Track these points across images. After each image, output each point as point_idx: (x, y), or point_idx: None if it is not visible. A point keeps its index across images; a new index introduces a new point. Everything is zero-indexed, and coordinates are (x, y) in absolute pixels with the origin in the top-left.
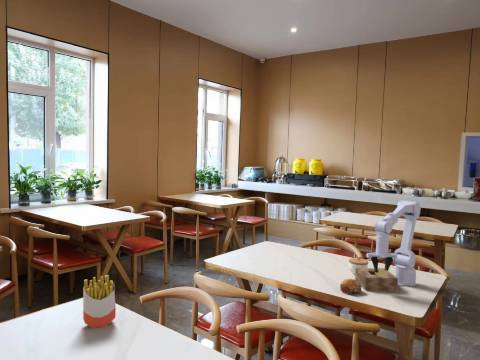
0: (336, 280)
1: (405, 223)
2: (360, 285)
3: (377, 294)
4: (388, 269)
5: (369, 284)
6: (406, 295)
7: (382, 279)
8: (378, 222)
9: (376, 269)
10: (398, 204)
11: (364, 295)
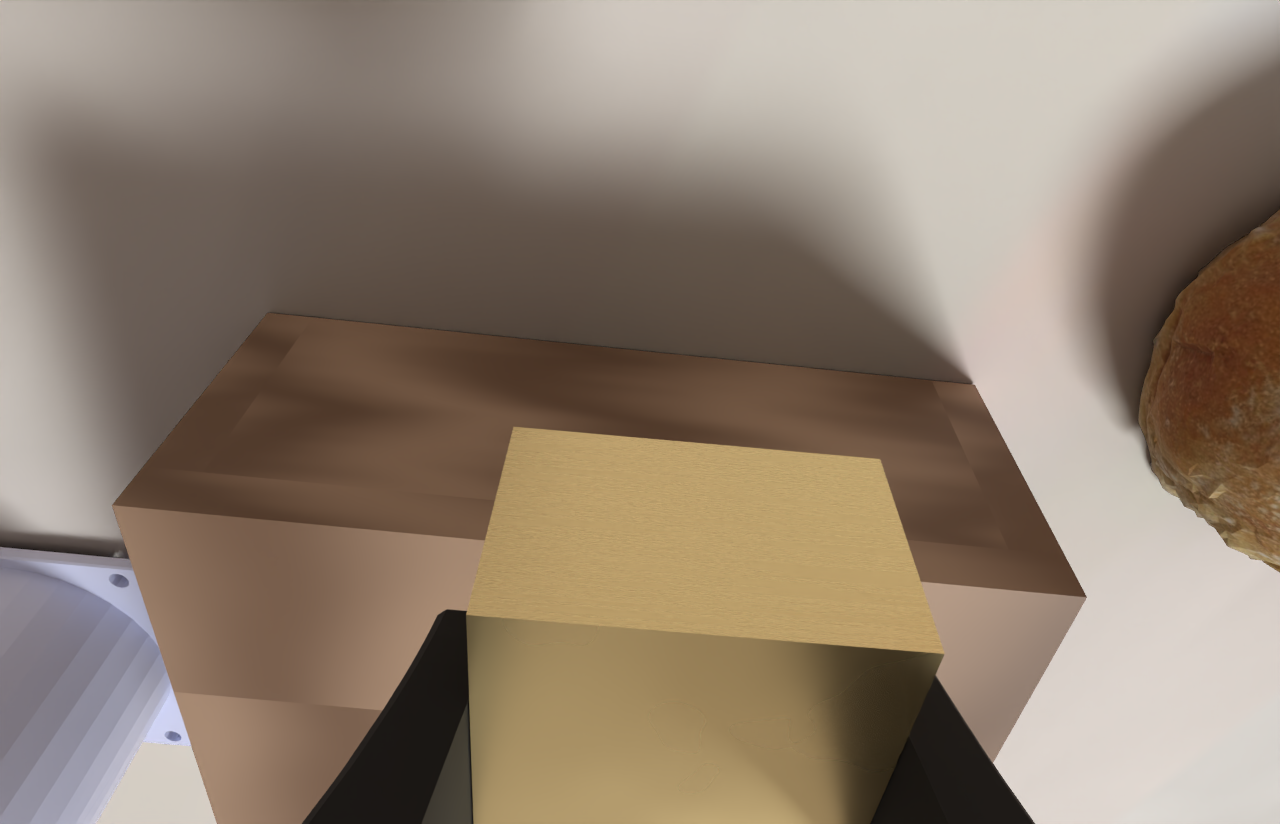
0: (1157, 778)
1: None
2: (1277, 368)
3: (849, 129)
4: (381, 718)
5: (920, 455)
6: (105, 28)
7: None
8: None
9: (970, 754)
10: None
11: (1248, 72)
